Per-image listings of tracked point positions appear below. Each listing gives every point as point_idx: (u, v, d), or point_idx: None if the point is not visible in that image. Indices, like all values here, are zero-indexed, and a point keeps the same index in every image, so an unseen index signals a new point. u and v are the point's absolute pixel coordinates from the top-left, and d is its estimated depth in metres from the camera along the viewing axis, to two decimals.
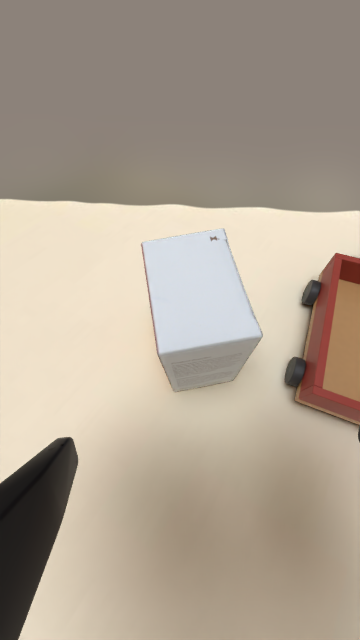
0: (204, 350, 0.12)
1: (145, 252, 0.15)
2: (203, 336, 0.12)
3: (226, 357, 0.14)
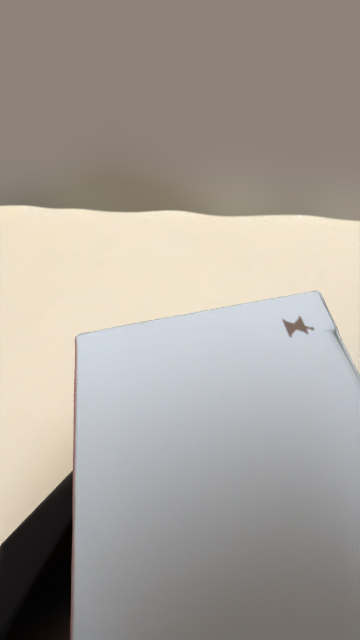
0: None
1: (81, 374, 0.05)
2: None
3: None
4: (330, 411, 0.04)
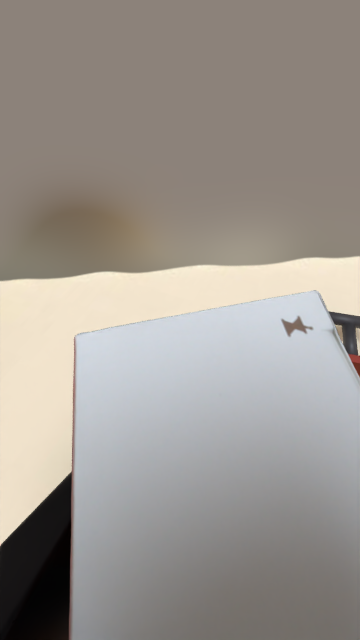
0: None
1: (79, 374, 0.05)
2: None
3: None
4: (328, 410, 0.04)
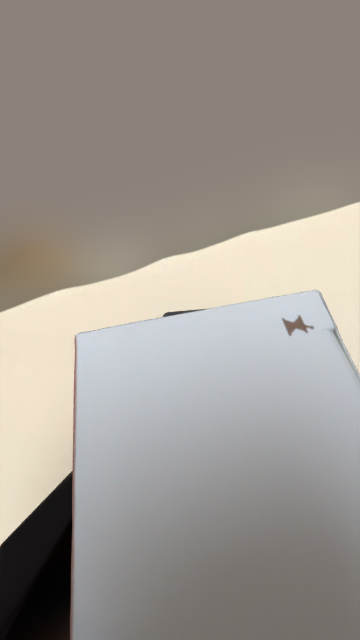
0: None
1: (80, 373, 0.05)
2: None
3: None
4: (329, 410, 0.04)
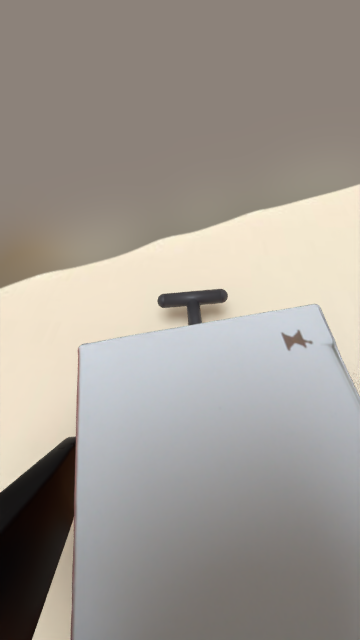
0: None
1: (84, 384, 0.05)
2: None
3: None
4: (326, 425, 0.04)
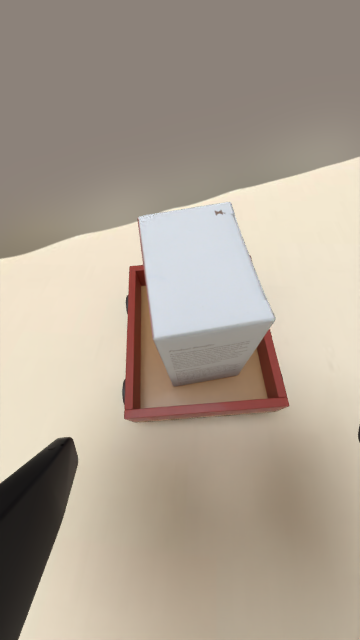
0: (207, 335, 0.11)
1: (141, 227, 0.13)
2: (206, 319, 0.11)
3: (232, 345, 0.13)
4: (225, 234, 0.13)
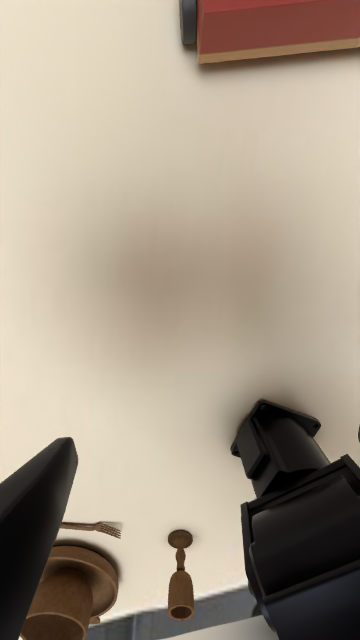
0: None
1: None
2: None
3: None
4: None
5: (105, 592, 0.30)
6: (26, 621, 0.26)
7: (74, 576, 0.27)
